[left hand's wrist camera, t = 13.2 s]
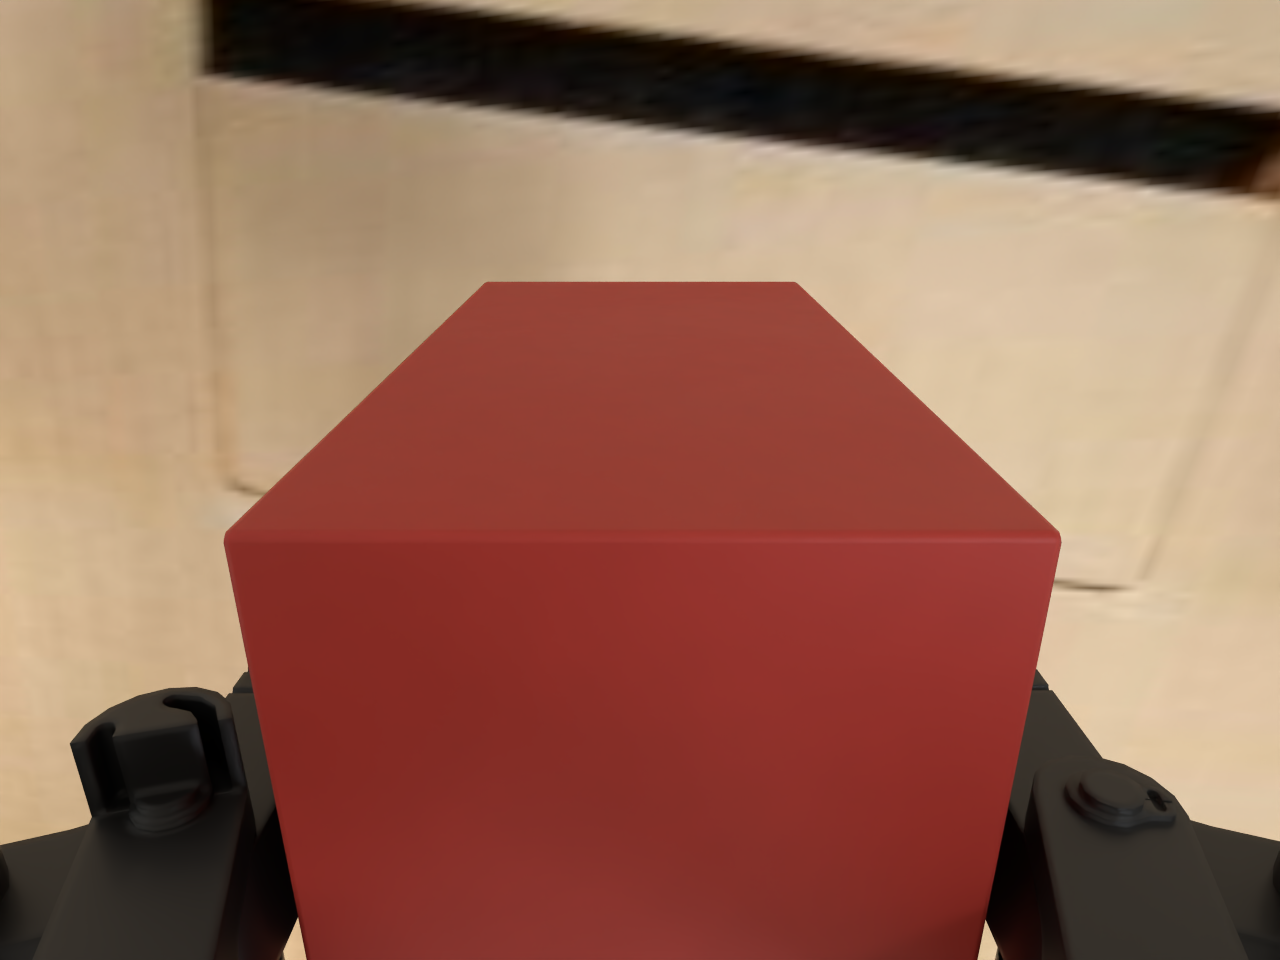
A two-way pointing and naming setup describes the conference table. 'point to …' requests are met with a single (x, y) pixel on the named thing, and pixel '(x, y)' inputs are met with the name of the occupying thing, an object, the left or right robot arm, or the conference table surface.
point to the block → (642, 642)
